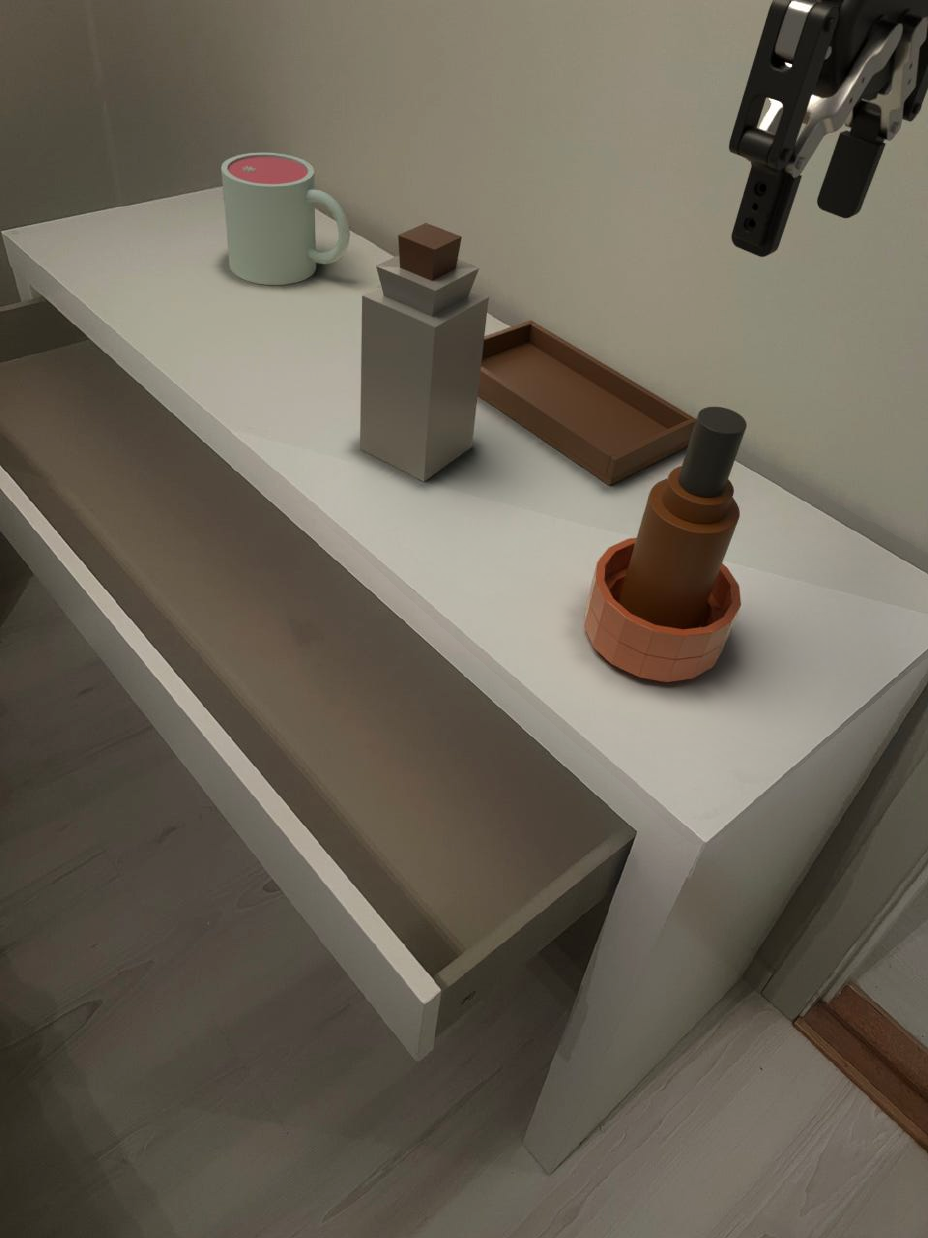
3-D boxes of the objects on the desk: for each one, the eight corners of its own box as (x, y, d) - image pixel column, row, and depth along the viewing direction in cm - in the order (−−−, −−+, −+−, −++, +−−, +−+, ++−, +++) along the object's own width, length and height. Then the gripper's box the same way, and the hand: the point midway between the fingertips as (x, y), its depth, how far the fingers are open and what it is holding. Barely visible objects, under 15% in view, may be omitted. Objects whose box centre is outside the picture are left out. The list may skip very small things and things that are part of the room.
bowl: (715, 600, 68) (735, 548, 65) (722, 698, 61) (745, 646, 58) (586, 579, 69) (599, 526, 65) (579, 674, 62) (593, 620, 58)
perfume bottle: (409, 416, 82) (421, 208, 69) (471, 446, 80) (495, 237, 67) (359, 448, 78) (362, 234, 65) (423, 481, 75) (439, 265, 63)
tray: (690, 444, 83) (698, 419, 81) (609, 485, 77) (615, 459, 76) (527, 343, 93) (530, 319, 92) (445, 373, 88) (447, 348, 86)
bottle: (691, 608, 67) (767, 401, 55) (694, 665, 63) (776, 454, 51) (614, 596, 67) (672, 386, 55) (611, 651, 63) (674, 438, 51)
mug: (212, 270, 98) (202, 172, 92) (259, 240, 105) (253, 145, 98) (327, 304, 96) (326, 204, 89) (368, 270, 102) (370, 175, 95)
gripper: (958, -182, 30) (790, 296, 41) (1098, -175, 38) (924, 224, 49) (760, -213, 33) (654, 236, 45) (926, -201, 41) (800, 178, 53)
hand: (796, 230), depth 47 cm, fingers open, 8 cm apart
